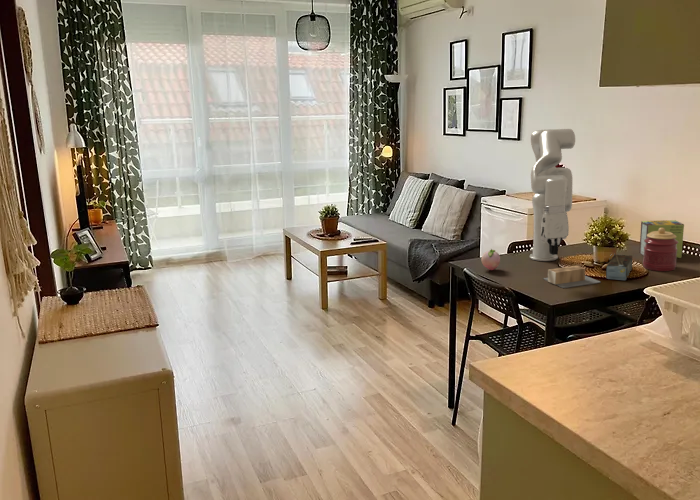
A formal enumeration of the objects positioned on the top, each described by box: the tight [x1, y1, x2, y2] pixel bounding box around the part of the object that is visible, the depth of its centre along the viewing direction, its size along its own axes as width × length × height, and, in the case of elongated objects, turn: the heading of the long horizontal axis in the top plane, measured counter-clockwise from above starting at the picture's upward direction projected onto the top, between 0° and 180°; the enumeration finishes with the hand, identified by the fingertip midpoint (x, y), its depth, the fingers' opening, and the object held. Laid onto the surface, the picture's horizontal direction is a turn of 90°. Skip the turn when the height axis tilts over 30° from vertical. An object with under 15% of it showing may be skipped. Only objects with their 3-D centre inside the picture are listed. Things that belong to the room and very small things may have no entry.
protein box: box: [638, 219, 685, 259], centre depth 272 cm, size 10×15×16 cm
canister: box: [642, 228, 678, 272], centre depth 252 cm, size 13×13×18 cm
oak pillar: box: [547, 265, 586, 285], centre depth 241 cm, size 5×5×14 cm
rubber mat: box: [542, 275, 601, 289], centre depth 243 cm, size 14×18×1 cm
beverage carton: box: [605, 254, 633, 281], centre depth 248 cm, size 8×19×7 cm, turn 148°
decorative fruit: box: [480, 248, 501, 271], centre depth 263 cm, size 9×8×10 cm
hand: (553, 254), depth 238 cm, fingers closed
